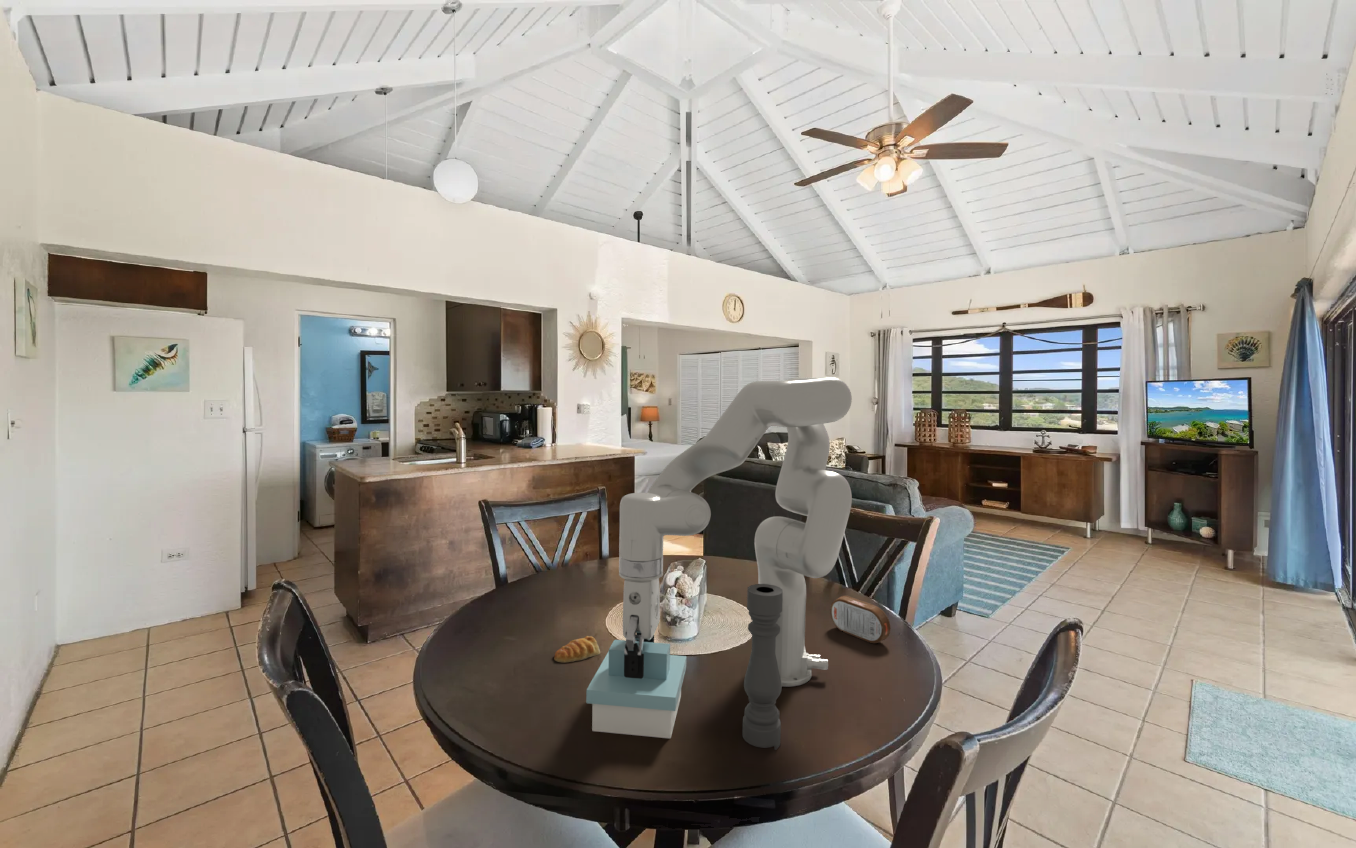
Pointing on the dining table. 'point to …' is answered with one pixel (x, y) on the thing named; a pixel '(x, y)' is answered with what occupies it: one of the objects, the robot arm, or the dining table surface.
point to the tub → (633, 720)
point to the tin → (860, 619)
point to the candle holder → (763, 667)
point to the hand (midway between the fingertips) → (639, 663)
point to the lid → (648, 692)
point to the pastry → (577, 650)
